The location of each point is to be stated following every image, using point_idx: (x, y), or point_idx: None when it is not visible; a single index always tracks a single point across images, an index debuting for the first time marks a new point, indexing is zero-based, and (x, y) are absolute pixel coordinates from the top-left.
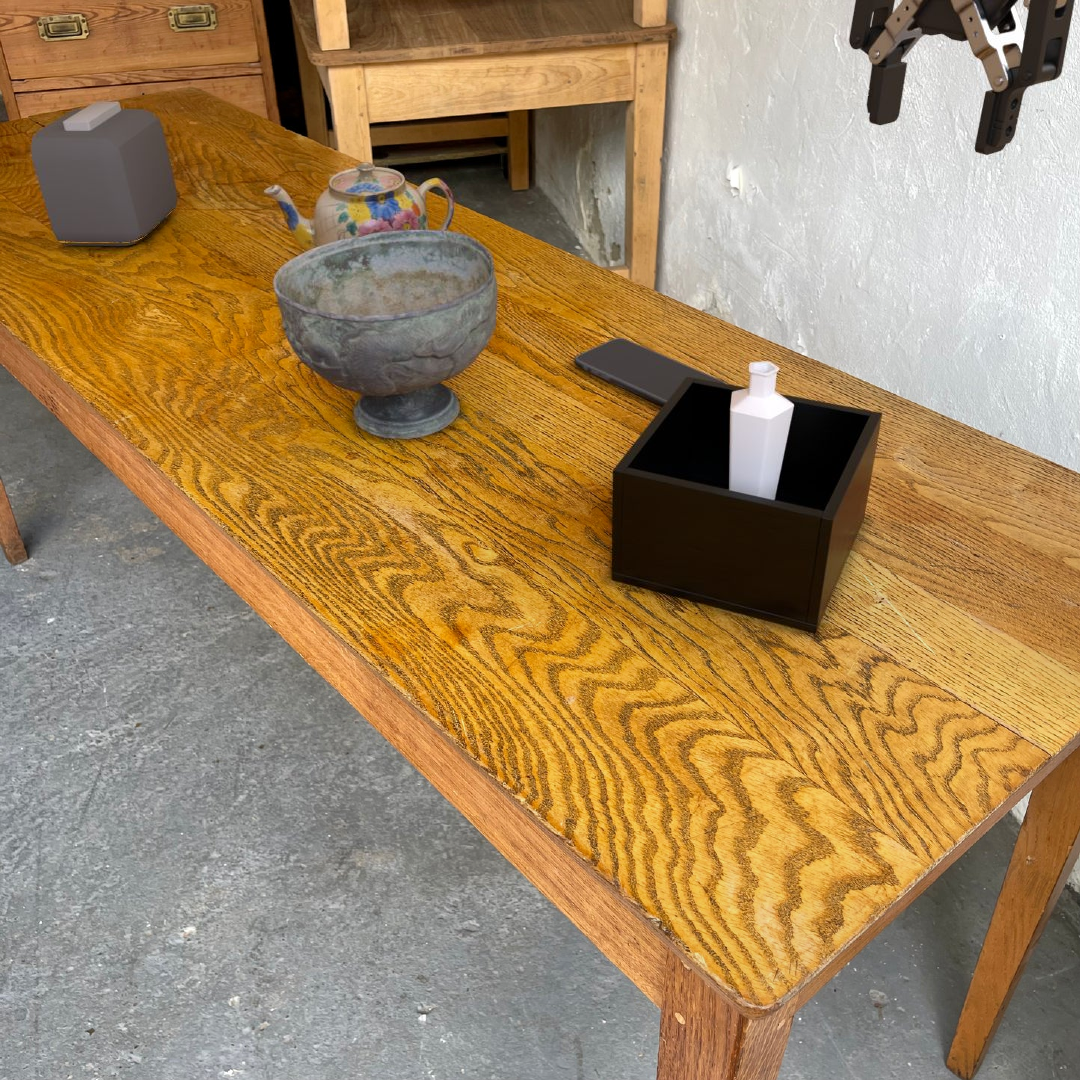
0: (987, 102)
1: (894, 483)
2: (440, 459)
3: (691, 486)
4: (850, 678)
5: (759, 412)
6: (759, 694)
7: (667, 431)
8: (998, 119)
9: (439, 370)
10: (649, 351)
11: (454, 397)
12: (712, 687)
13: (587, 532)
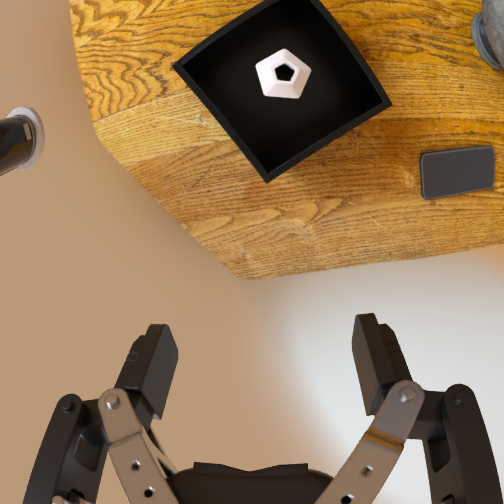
0: (137, 375)
1: (287, 204)
2: (448, 17)
3: (253, 8)
4: (160, 70)
5: (265, 61)
6: (172, 26)
7: (348, 55)
8: (132, 362)
9: (483, 14)
10: (474, 189)
11: (491, 60)
12: (188, 9)
13: (343, 22)
